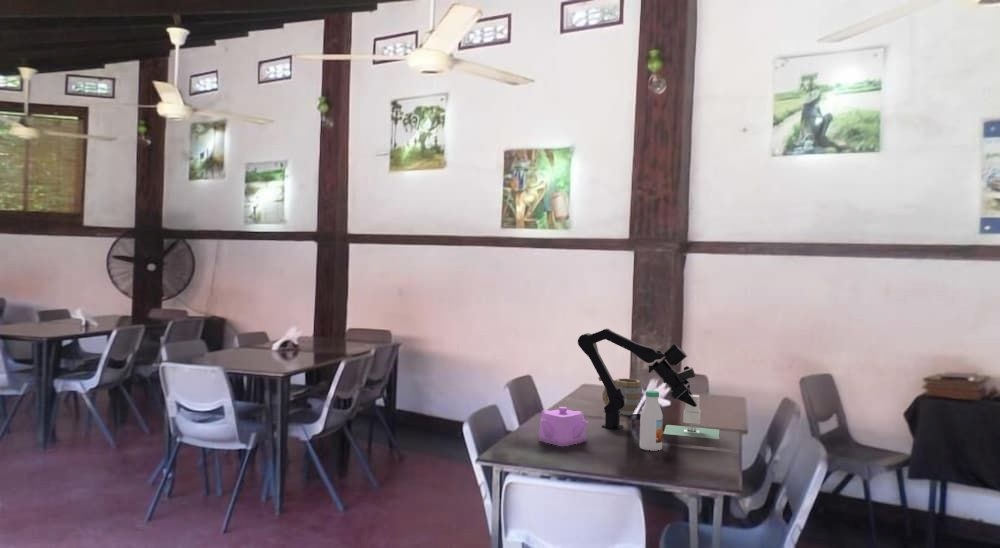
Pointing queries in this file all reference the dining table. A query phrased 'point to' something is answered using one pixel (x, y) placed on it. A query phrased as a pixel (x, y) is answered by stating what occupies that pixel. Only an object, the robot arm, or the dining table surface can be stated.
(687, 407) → the plug housing
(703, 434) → the board
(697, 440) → the dining table surface
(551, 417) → the pink lidded box
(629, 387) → the tankard
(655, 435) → the milk bottle
